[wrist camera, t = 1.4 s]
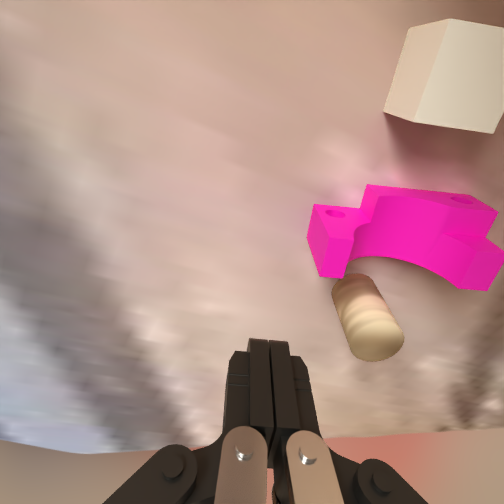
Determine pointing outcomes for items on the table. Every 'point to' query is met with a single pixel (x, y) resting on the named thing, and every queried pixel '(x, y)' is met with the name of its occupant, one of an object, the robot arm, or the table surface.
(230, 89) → the table surface
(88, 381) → the table surface
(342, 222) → the toy block
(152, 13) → the table surface
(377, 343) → the birch cylinder
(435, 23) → the beige cube
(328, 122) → the table surface
